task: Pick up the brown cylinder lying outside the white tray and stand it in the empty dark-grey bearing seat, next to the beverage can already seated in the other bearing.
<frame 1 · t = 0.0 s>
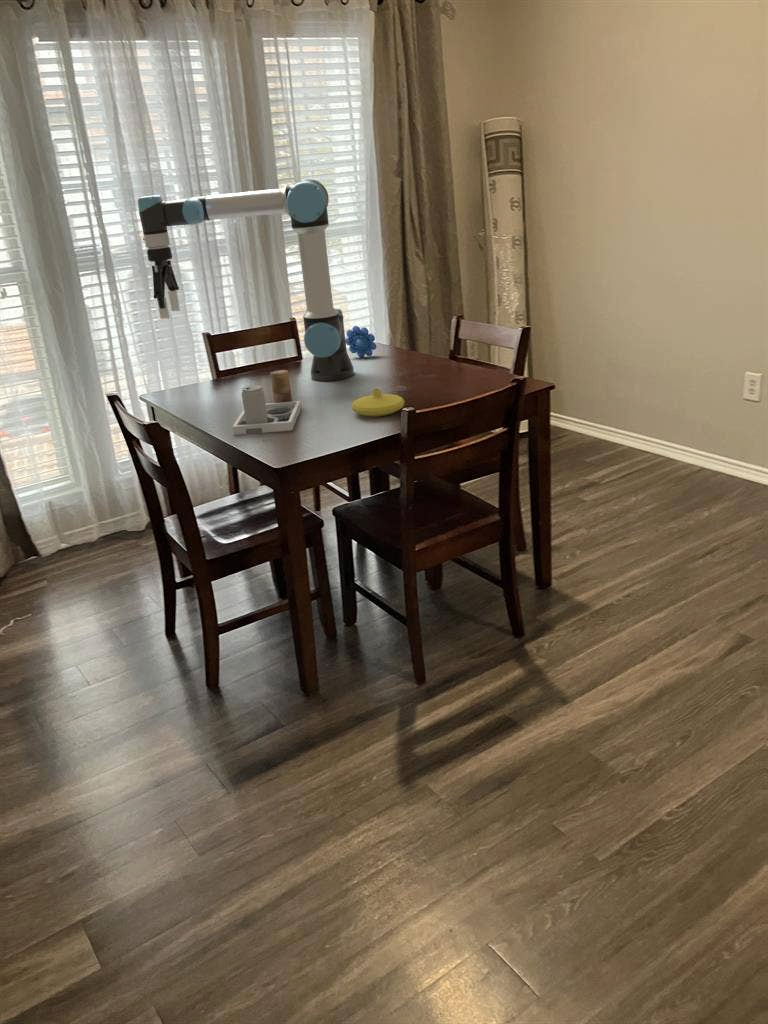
hand: (170, 314, 283), 28 cm above the table, fingers open, 13 cm apart
yellow lid: (378, 413, 256), on the table
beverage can: (257, 427, 254), resting in white tray
white tray: (268, 421, 258), on the table
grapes: (361, 358, 325), on the table
brown cylinder: (283, 406, 272), on the table
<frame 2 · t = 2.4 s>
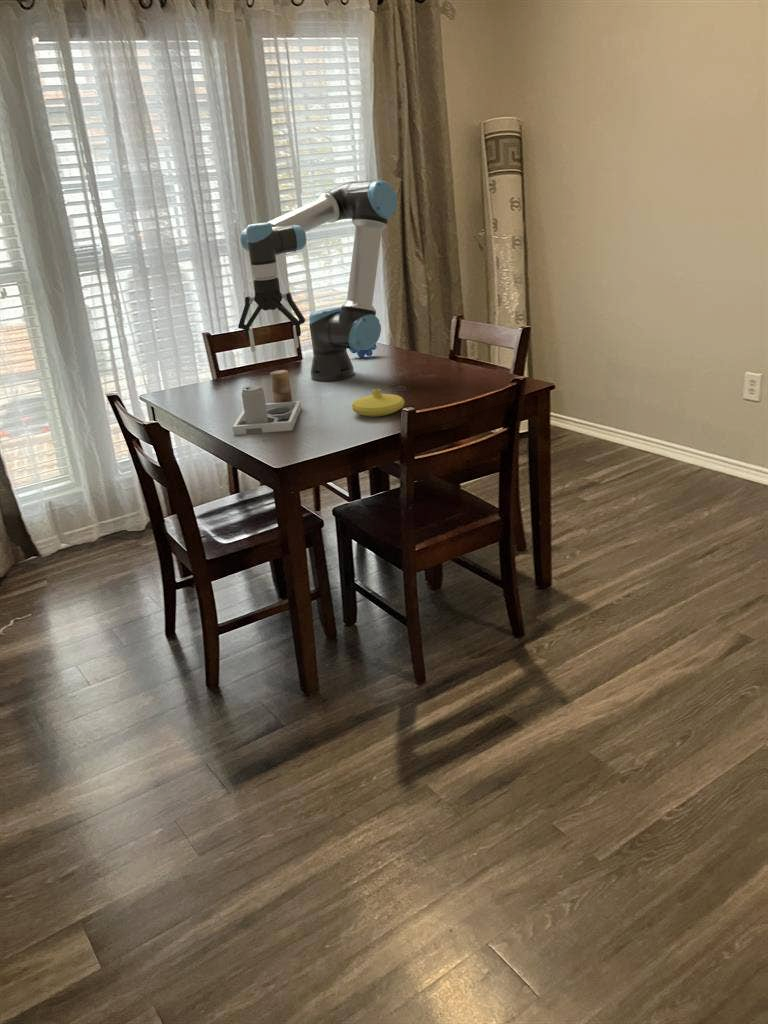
hand: (275, 349, 264), 18 cm above the table, fingers open, 13 cm apart
nothing on the table moved.
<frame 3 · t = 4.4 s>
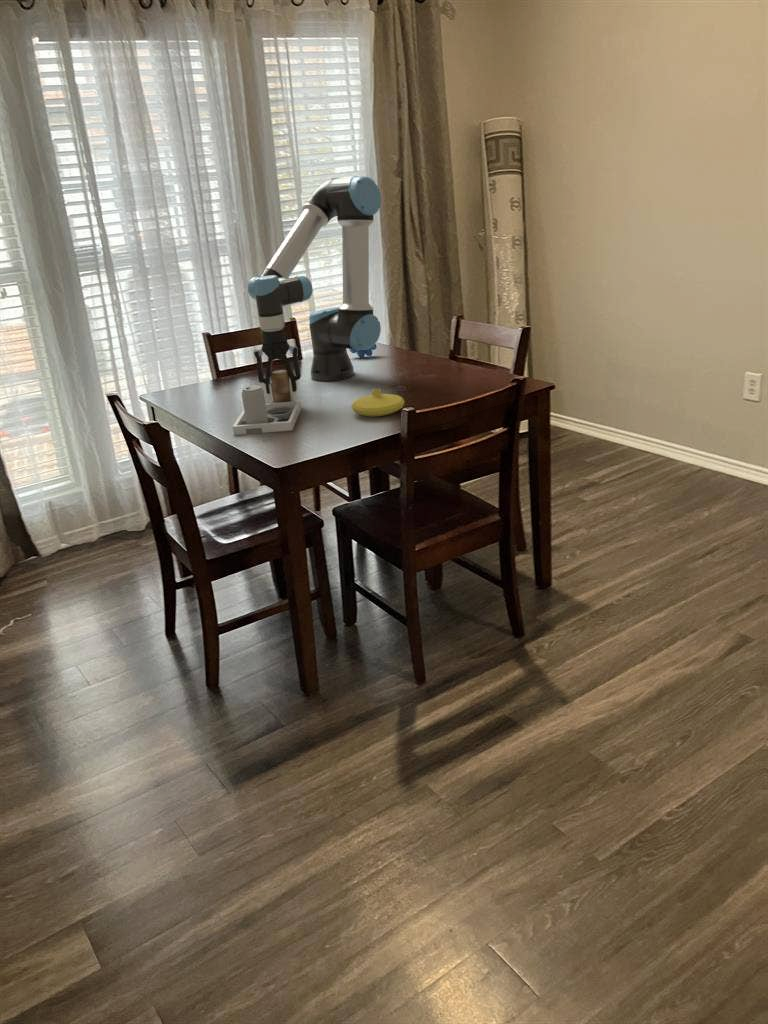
hand: (283, 402, 271), 1 cm above the table, fingers closed on brown cylinder, 6 cm apart
brown cylinder: (283, 406, 272), on the table, touching gripper
everything else where it was.
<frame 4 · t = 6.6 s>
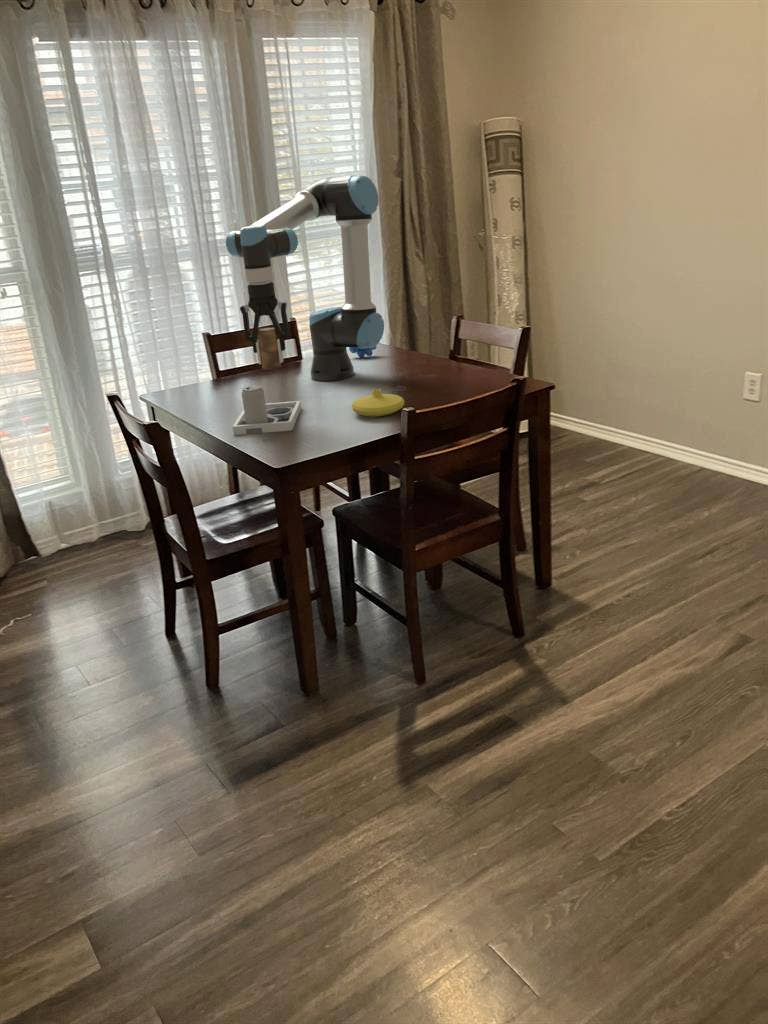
hand: (271, 362, 256), 17 cm above the table, fingers closed on brown cylinder, 6 cm apart
brown cylinder: (271, 366, 256), point 15 cm above the table, touching gripper
everything else where it was.
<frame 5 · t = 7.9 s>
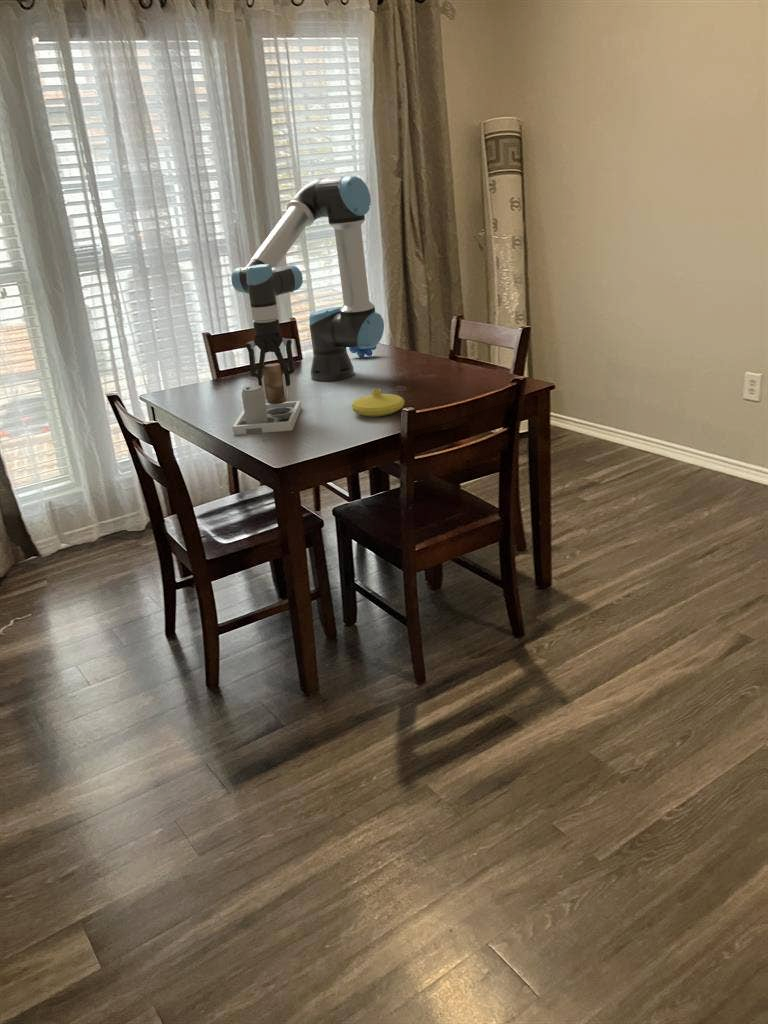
hand: (276, 397, 260), 6 cm above the table, fingers closed on brown cylinder, 6 cm apart
brown cylinder: (277, 401, 261), point 5 cm above the table, touching gripper
everything else where it was.
when the fingers open (4 cm above the table, at t = 8.6 s): brown cylinder drops 2 cm, resting in white tray.
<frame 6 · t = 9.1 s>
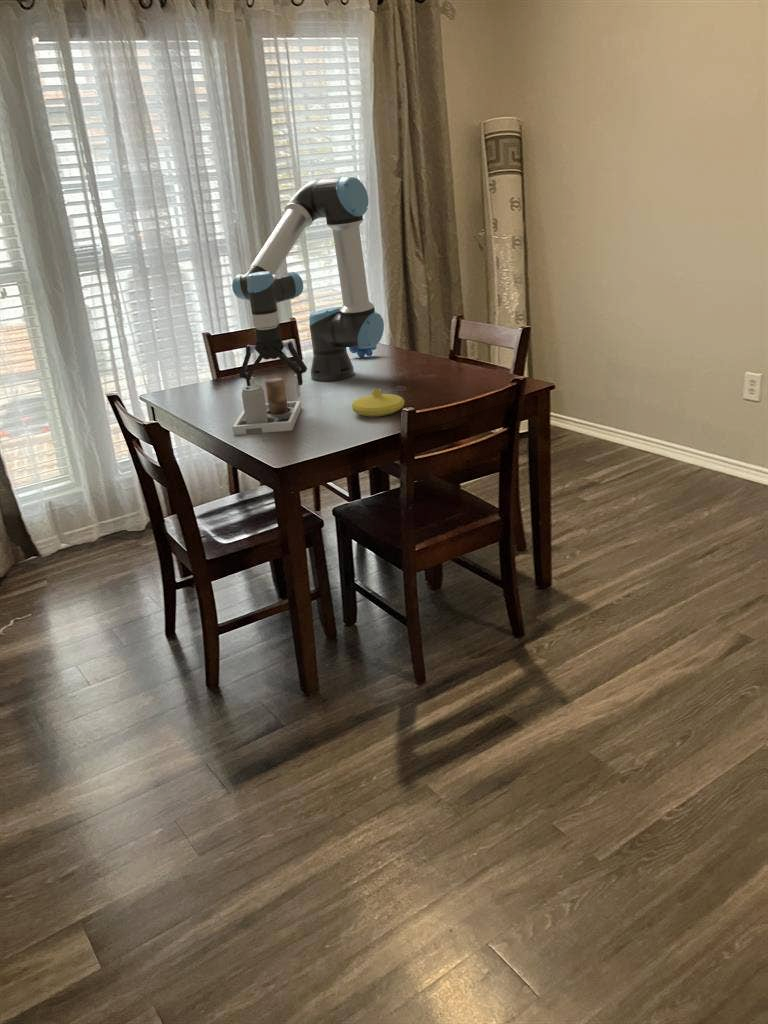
hand: (276, 397, 260), 6 cm above the table, fingers open, 13 cm apart
brown cylinder: (279, 415, 262), resting in white tray
everything else where it was.
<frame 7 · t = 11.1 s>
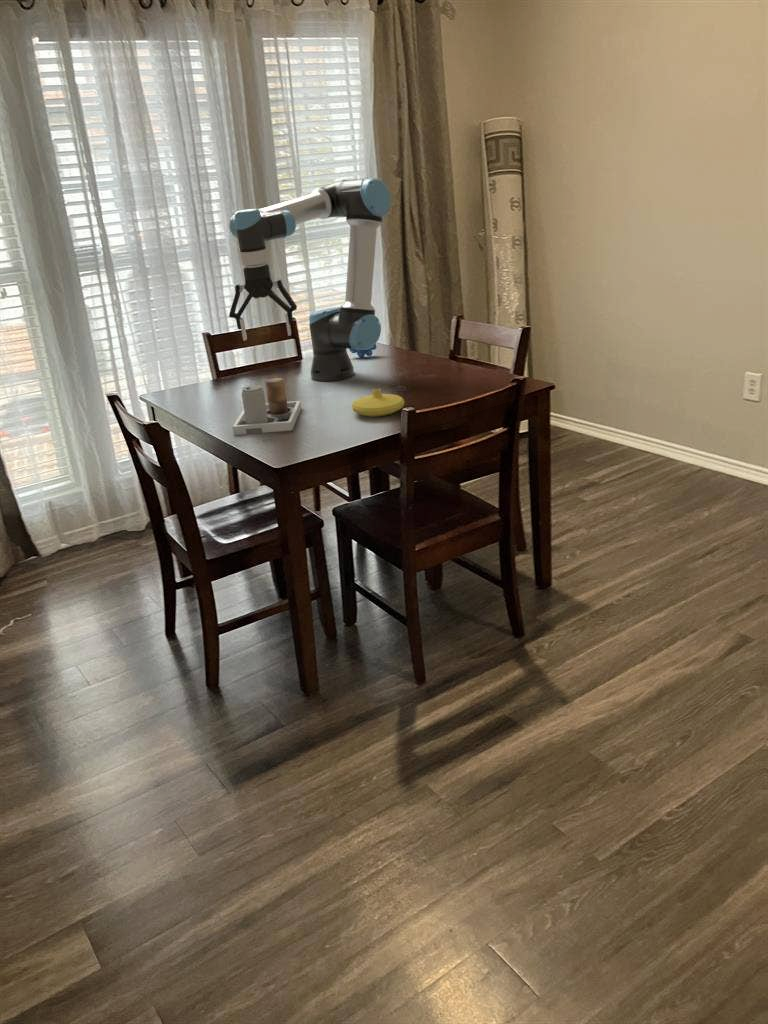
hand: (267, 337, 261), 22 cm above the table, fingers open, 13 cm apart
nothing on the table moved.
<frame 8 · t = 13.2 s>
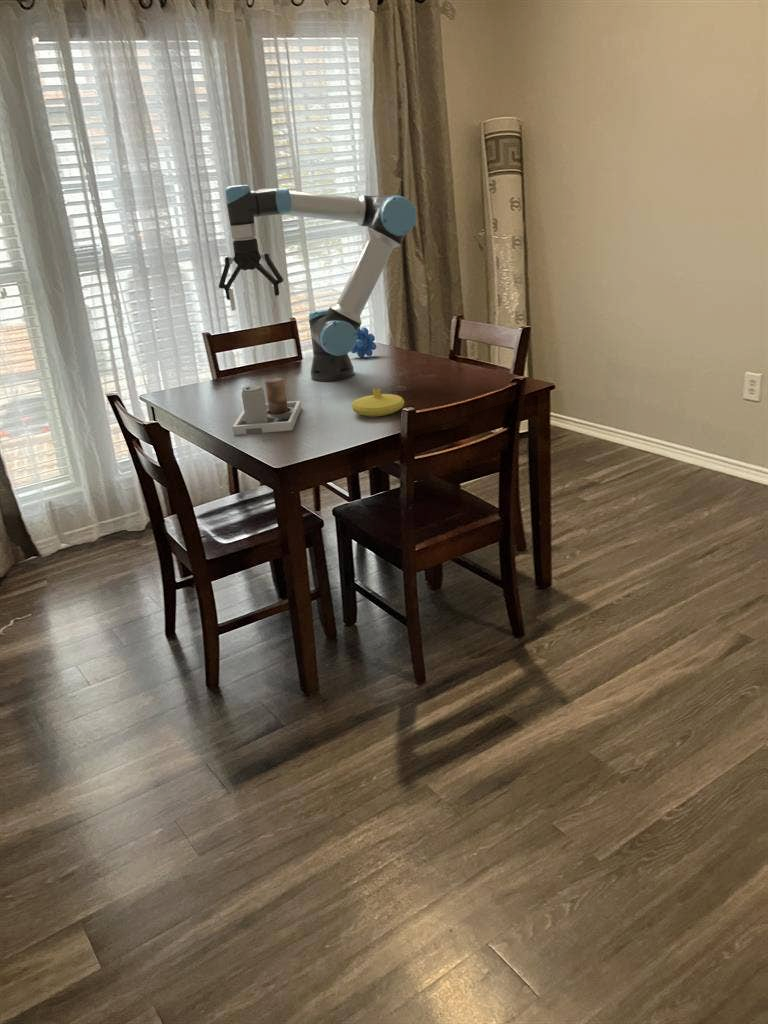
hand: (254, 308, 275), 29 cm above the table, fingers open, 13 cm apart
nothing on the table moved.
at the end: brown cylinder 0.0 cm from the target spot on the white tray, point 0.0 cm above the white tray's base; brown cylinder tilted 0°; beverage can moved 0.2 cm from its start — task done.
